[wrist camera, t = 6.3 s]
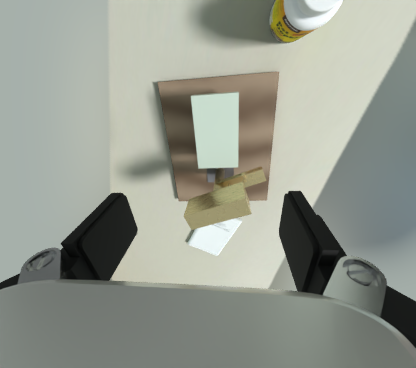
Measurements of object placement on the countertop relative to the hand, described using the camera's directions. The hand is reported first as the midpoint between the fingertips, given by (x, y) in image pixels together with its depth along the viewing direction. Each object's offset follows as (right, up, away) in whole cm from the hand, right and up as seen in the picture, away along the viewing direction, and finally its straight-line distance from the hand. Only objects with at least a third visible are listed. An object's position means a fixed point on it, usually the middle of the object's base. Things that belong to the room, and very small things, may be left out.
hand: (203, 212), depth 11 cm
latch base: (+2, +8, +22) cm, 24 cm away
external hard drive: (+2, -9, +33) cm, 34 cm away
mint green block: (+2, +10, +17) cm, 20 cm away
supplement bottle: (+11, +24, +13) cm, 29 cm away
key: (+4, +5, +22) cm, 23 cm away
